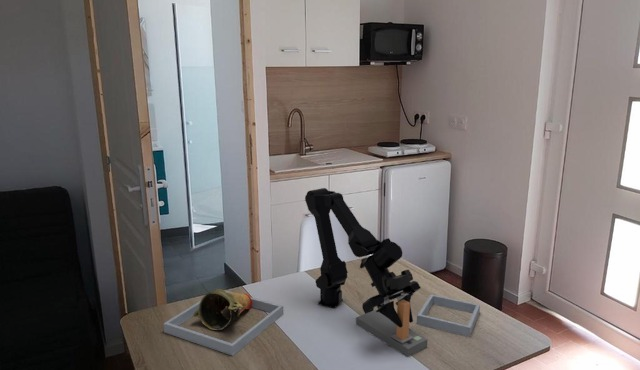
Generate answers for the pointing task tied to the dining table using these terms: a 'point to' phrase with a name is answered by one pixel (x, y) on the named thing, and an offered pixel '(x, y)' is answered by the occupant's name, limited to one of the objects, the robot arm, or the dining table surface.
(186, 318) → the tray
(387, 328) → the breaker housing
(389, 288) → the robot arm
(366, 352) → the dining table surface
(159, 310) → the dining table surface
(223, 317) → the pot
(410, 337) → the handle
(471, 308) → the tray
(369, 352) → the dining table surface
